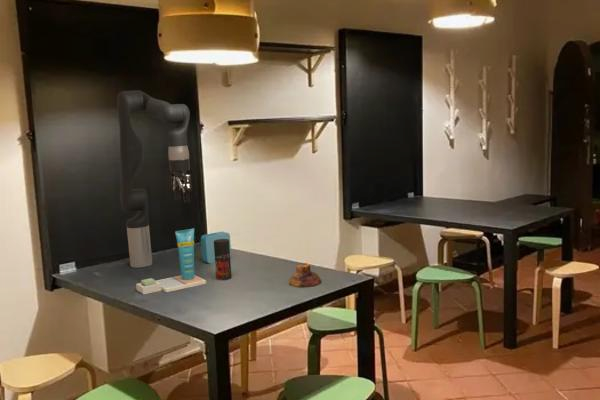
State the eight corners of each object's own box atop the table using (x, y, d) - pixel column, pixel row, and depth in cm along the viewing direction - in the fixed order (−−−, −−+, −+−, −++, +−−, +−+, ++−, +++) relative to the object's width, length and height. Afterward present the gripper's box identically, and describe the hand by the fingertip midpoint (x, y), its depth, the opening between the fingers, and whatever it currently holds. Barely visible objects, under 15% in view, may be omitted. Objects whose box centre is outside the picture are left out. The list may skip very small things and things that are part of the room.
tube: (181, 281, 240) (177, 232, 237) (176, 279, 244) (172, 230, 241) (199, 277, 244) (196, 229, 241) (194, 275, 248) (190, 227, 245)
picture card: (152, 284, 243) (152, 281, 243) (191, 276, 252) (190, 273, 252) (166, 292, 232) (166, 288, 231) (206, 283, 240) (206, 280, 240)
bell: (297, 289, 227) (296, 270, 225) (284, 282, 237) (283, 263, 236) (326, 284, 231) (325, 265, 230) (312, 277, 242) (311, 258, 241)
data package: (226, 257, 281) (224, 230, 279) (231, 259, 277) (229, 232, 276) (202, 262, 274) (200, 235, 272) (207, 264, 270) (205, 236, 268)
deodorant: (213, 278, 246) (210, 241, 244) (224, 275, 251) (222, 238, 248) (223, 281, 242) (220, 242, 240) (234, 277, 247) (232, 239, 244)
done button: (141, 286, 235) (141, 280, 235) (151, 284, 238) (151, 278, 237) (145, 288, 232) (144, 282, 232) (155, 286, 234) (155, 280, 234)
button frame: (136, 290, 236) (136, 283, 236) (154, 286, 240) (154, 280, 240) (143, 294, 230) (142, 287, 230) (161, 290, 234) (161, 283, 234)
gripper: (162, 158, 240) (165, 200, 243) (177, 159, 229) (180, 204, 231) (180, 156, 245) (184, 198, 247) (196, 158, 233) (199, 201, 235)
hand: (182, 201), depth 239 cm, fingers open, 8 cm apart
